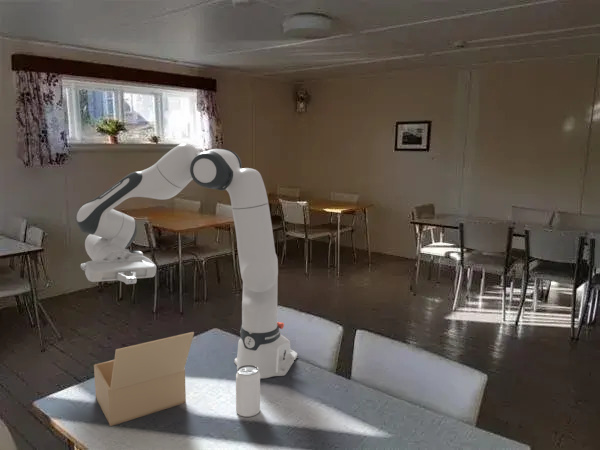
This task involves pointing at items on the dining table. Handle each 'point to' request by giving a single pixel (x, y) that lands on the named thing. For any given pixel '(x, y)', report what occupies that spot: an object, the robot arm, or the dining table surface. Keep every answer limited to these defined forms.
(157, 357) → the carton flap
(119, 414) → the carton
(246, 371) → the can
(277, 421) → the dining table surface
